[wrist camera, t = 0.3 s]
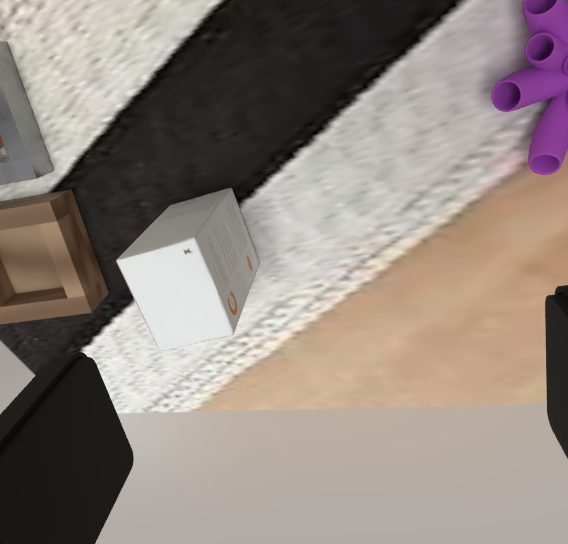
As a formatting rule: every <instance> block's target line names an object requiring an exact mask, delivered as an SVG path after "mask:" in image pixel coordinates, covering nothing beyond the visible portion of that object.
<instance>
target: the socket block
mask: <svg viewBox="0 0 568 544" xmlns="http://www.w3.org/2000/svg"><path fill="white" fill-rule="evenodd" d="M0 137H1V139H2V142H3V144H4V147H5V149H6V152H7V154H8V157H9V158H7V159H1V160H0V185H2V184H7V183H13V182H19V181H24V180H30V179H35V178H38V177H41V176H43V175H45V174H47V173H49V172H51V171H54V168H53V166H52V163H51V160H50V158H49V155H48V152H47V149H46V147H45V144H44V141H43V139H42V136H41V133H40V130H39V128H38V125H37V122H36V119H35V117H34V114H33V111H32V109H31V106H30V103H29V100H28V98H27V95H26V92H25V89H24V87H23V84H22V81H21V79H20V76H19V73H18V70H17V68H16V65H15V62H14V60H13V57H12V54H11V51H10V49H9V46H8V43H7V42H0Z"/></svg>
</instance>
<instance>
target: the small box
mask: <svg viewBox="0 0 568 544" xmlns="http://www.w3.org/2000/svg"><path fill="white" fill-rule="evenodd" d="M116 262H117V264H118V266H119V268H120V270H121V272H122V274H123V276H124V278H125V281H126V283H127V285H128V287H129V289H130V291H131V293H132V295H133V297H134V299H135V301H136V303H137V305H138V308H139V310H140V312H141V314H142V316H143V318H144V320H145V322H146V324H147V326H148V328H149V330H150V332H151V334H152V336H153V339H154V341H155V343H156V345H157V347H158V349H159V351H163V350H167V349H172V348H176V347H180V346H185V345H190V344H194V343H199V342H204V341H209V340H214V339H218V338H223V337H228V336H232V335H233V334H234V332H235V329H236V326H237V323H238V320H239V318H240V315H241V312H242V310H243V307H244V304H245V302H246V299H247V296H248V293H249V291H250V288H251V285H252V283H253V280H254V277H255V274H256V272H257V269H258V266H259V261H258V258H257V255H256V252H255V250H254V247H253V244H252V241H251V239H250V236H249V233H248V230H247V228H246V225H245V222H244V219H243V217H242V214H241V211H240V209H239V206H238V203H237V201H236V198H235V195H234V193H233V190H232V188H228V189H224V190H221V191H218V192H214V193H211V194H207V195H204V196H201V197H197V198H194V199H190V200H187V201H183V202H180V203H177V204H173V205H170V206H169V207H168V208H167V209H166V210H165V211H164V212H163V213H162V214H161V215H160V216H159V217H158V218H157V219H156V220H155V221H154V222H153V223H152V224H151V225H150V226H149V227H148V228H147V229H146V230H145V231H144V233H143V234H141V235H140V237H139V238H138V239H137V240H136V241H135V242H134V243H133V244H132V245H131V246H130V247H129V248H128V249H127V250H126V251H125V252H124V253H123V254H122V255H121V256H120V257H119V258H118V259H117V260H116Z"/></svg>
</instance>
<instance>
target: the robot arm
mask: <svg viewBox="0 0 568 544" xmlns="http://www.w3.org/2000/svg"><path fill="white" fill-rule="evenodd" d="M545 318H546V376H547V414H548V419H549V423H550V426H551V428H552V430H553V432H554V434H555V436H556V438H557V440H558V441H559V443H560V445H561V447H562V449H563V451H564V453H565V455H566V456H567V458H568V285H565V286H558V287H557V288H556V291H555V295H548V296H547V297H546V300H545ZM132 466H133V451H132V449H131V446H130V444H129V441H128V439H127V437H126V434H125V432H124V429H123V427H122V425H121V422H120V420H119V417H118V415H117V413H116V410H115V408H114V406H113V403H112V401H111V398H110V396H109V394H108V391H107V389H106V386H105V384H104V382H103V379H102V377H101V375H100V372H99V370H98V367H97V365H96V363H95V361H94V360H93V359H92V358H90V357H87V356H86V355H85V354H84V353H82V352H76V353H68V354H61V355H55V356H54V357H53V358H51V359H50V361H49V362H48V363H47V364H46V365H45V366H44V367H43V368H42V369H41V370H40V372H39V373H38V374H37V375H36V376H35V377H34V378H33V379H32V381H30V383H29V384H28V385H27V386H26V387H25V388H24V389H23V390H22V391H21V393H20V394H19V395H18V396H17V397H16V398H15V399H14V400H13V401H12V402H11V403H10V405H9V406H8V407H7V408H6V409H5V410H4V411H3V412H2V413H1V414H0V544H95V543H96V540H97V538H98V536H99V534H100V532H101V530H102V528H103V526H104V524H105V522H106V520H107V518H108V516H109V514H110V512H111V510H112V508H113V506H114V504H115V502H116V500H117V497H118V495H119V493H120V491H121V489H122V487H123V485H124V483H125V481H126V479H127V477H128V475H129V473H130V471H131V469H132Z"/></svg>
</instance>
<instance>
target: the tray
mask: <svg viewBox="0 0 568 544" xmlns="http://www.w3.org/2000/svg"><path fill="white" fill-rule="evenodd" d="M108 294H109V293H108V290H107V287H106V284H105V281H104V279H103V276H102V273H101V270H100V267H99V265H98V262H97V259H96V256H95V254H94V251H93V248H92V245H91V242H90V240H89V237H88V234H87V231H86V228H85V226H84V223H83V220H82V217H81V215H80V212H79V209H78V206H77V203H76V201H75V198H74V195H73V192H72V189H71V190H66V191H60V192H54V193H48V194H42V195H36V196H31V197H25V198H19V199H13V200H7V201H2V202H0V324H6V323H14V322H22V321H30V320H38V319H45V318H53V317H61V316H69V315H77V314H85V313H92V312H93V311H94V310H95V308H96V307H97V306H98V305H99V304H100V303H101V302H102V301H103V300H104V299H105V297H106V296H107V295H108Z"/></svg>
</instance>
